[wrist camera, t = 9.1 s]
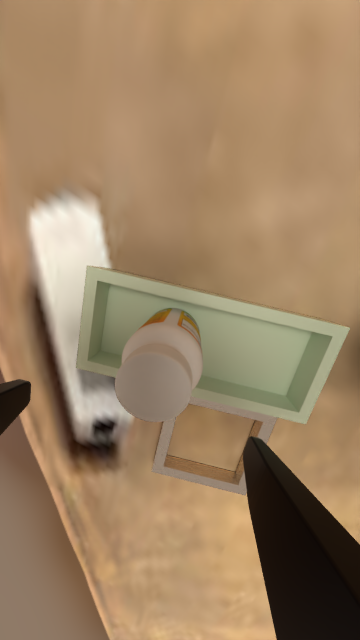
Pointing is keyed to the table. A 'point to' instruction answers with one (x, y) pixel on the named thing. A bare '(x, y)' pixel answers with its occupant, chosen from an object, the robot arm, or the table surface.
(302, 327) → the trough
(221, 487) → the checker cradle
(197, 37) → the table surface
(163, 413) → the supplement bottle
